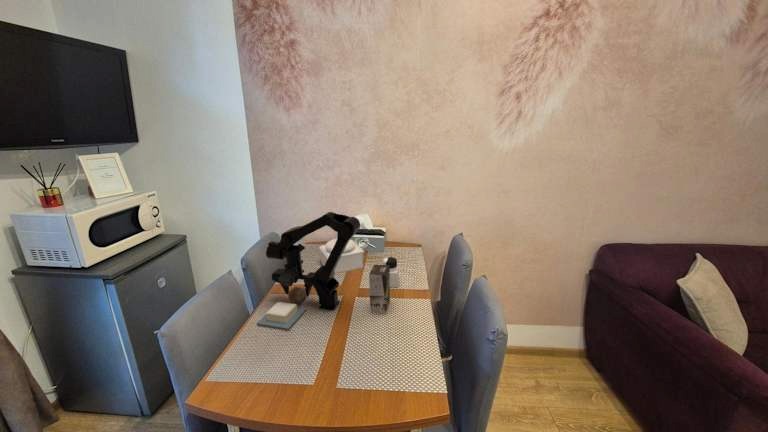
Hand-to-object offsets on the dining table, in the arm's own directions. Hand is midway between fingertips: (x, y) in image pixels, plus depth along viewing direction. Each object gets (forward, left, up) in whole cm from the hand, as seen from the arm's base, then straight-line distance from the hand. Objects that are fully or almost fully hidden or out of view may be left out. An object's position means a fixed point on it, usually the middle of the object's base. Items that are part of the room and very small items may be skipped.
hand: (297, 295), depth 133 cm
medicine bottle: (-33, -23, -3) cm, 40 cm away
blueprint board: (0, +12, -2) cm, 12 cm away
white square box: (-4, -37, -3) cm, 37 cm away
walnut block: (0, 0, -3) cm, 3 cm away
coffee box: (-34, -4, -3) cm, 34 cm away
